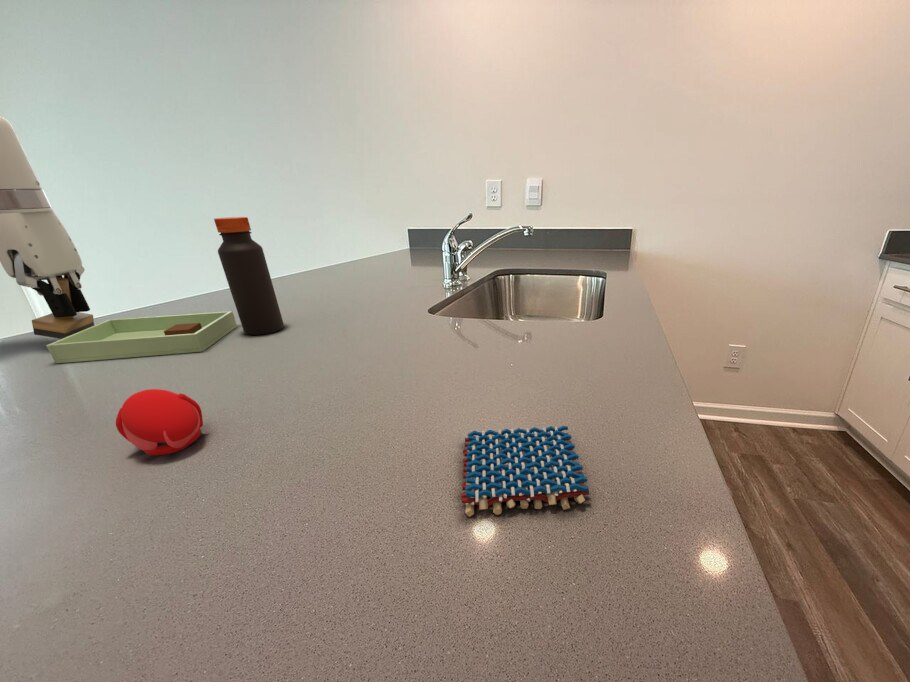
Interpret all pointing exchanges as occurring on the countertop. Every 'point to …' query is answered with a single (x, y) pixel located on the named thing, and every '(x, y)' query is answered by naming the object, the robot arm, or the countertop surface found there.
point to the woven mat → (521, 469)
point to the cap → (159, 421)
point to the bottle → (248, 277)
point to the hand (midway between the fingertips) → (72, 313)
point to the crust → (183, 329)
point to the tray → (141, 337)
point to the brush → (62, 320)
